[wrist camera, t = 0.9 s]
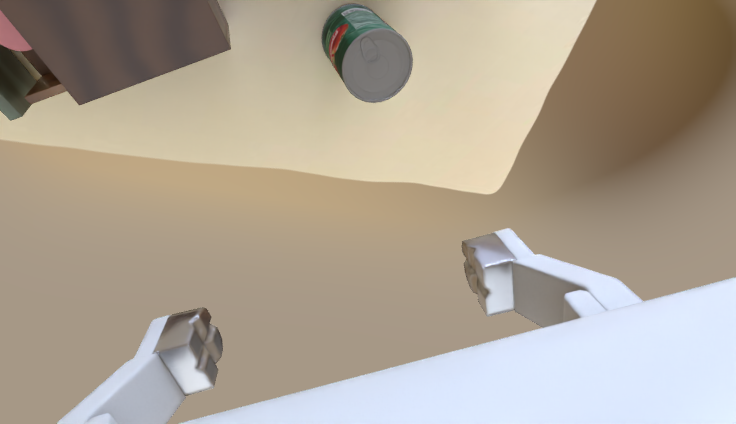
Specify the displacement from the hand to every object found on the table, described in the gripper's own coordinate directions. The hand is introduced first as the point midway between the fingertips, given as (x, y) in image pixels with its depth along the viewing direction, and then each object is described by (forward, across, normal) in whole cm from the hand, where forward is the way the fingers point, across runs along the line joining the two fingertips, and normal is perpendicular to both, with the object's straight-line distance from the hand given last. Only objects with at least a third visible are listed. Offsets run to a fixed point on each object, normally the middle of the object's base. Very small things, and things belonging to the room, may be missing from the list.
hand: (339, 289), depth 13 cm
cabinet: (+40, +16, -14) cm, 45 cm away
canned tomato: (+45, -6, -3) cm, 46 cm away
